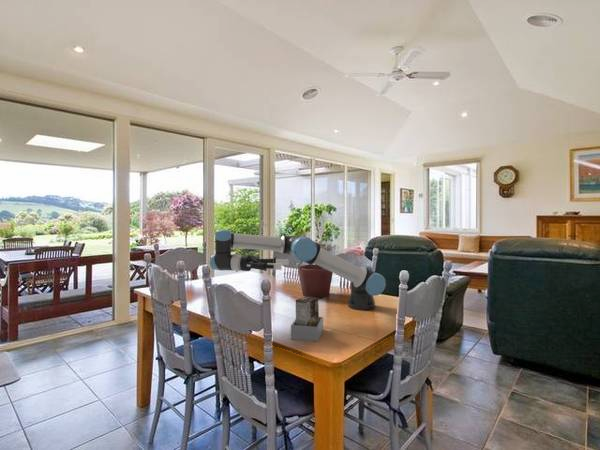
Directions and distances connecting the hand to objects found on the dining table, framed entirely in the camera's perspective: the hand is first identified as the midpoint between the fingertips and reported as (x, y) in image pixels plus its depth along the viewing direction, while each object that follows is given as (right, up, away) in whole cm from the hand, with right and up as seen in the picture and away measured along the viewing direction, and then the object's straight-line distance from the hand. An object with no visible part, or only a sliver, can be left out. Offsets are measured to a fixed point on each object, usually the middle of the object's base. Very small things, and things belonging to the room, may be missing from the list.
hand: (285, 264), depth 163 cm
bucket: (+17, -28, +65) cm, 73 cm away
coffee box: (+10, -30, -7) cm, 33 cm away
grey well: (+10, -30, -7) cm, 33 cm away
